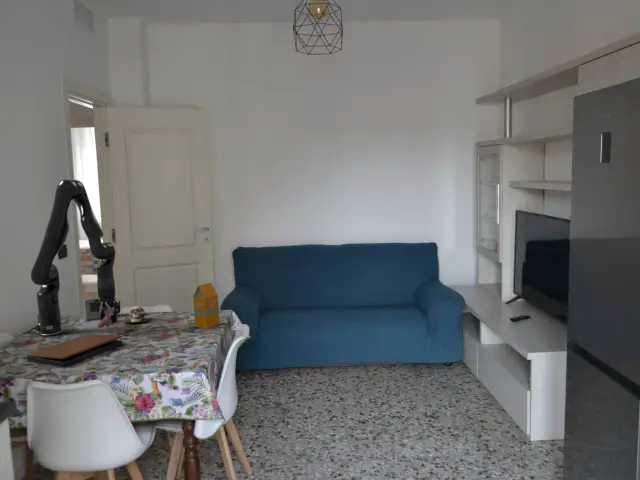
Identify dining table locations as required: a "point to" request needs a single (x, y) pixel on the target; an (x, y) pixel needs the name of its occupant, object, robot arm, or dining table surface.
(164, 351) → the dining table surface
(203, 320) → the orange juice
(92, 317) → the digital clock
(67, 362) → the black flat slab
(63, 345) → the tablet cover
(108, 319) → the video game controller
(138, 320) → the skull
